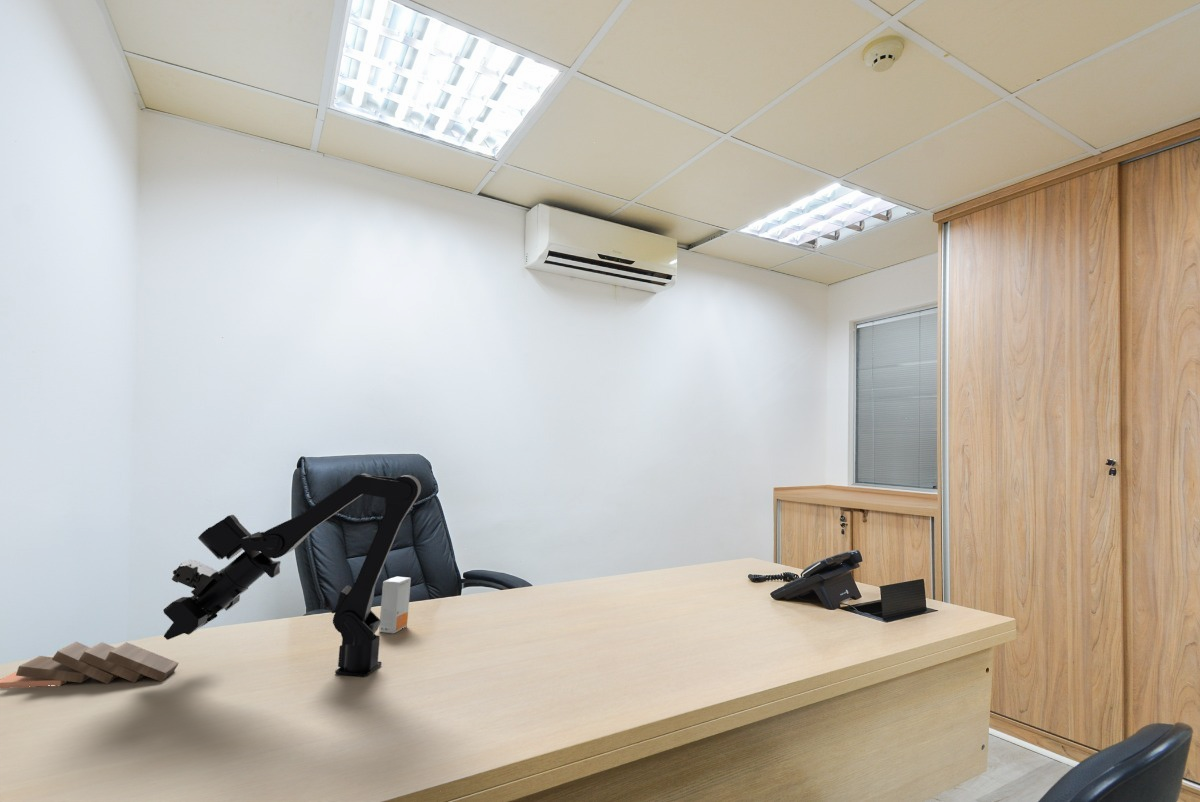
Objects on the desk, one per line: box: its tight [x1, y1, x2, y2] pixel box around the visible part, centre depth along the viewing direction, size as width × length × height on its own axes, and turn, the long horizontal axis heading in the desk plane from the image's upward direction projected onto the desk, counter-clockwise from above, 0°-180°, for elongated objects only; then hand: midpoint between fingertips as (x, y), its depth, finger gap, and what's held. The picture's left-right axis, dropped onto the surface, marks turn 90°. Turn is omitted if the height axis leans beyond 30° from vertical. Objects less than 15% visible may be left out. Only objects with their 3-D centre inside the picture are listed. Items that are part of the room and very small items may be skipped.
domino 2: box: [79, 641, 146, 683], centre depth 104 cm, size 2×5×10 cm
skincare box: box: [378, 576, 412, 634], centre depth 138 cm, size 6×4×12 cm
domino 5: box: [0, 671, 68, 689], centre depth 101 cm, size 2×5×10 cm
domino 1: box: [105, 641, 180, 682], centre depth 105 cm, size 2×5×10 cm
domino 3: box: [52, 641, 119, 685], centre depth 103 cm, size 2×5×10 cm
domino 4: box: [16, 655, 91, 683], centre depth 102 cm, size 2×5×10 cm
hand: (166, 637), depth 105 cm, fingers closed
